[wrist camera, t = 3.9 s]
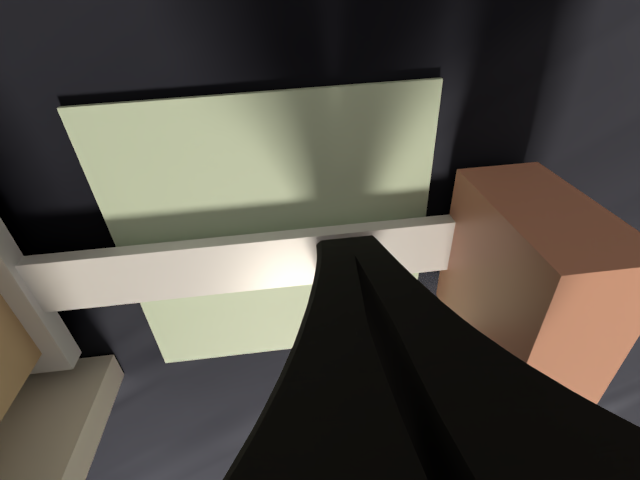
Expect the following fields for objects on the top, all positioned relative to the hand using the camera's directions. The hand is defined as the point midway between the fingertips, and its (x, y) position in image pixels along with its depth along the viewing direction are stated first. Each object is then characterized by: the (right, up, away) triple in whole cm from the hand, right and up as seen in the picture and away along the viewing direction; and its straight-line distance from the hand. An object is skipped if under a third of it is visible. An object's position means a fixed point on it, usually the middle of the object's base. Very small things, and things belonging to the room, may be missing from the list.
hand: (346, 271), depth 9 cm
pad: (-2, +1, +1) cm, 2 cm away
